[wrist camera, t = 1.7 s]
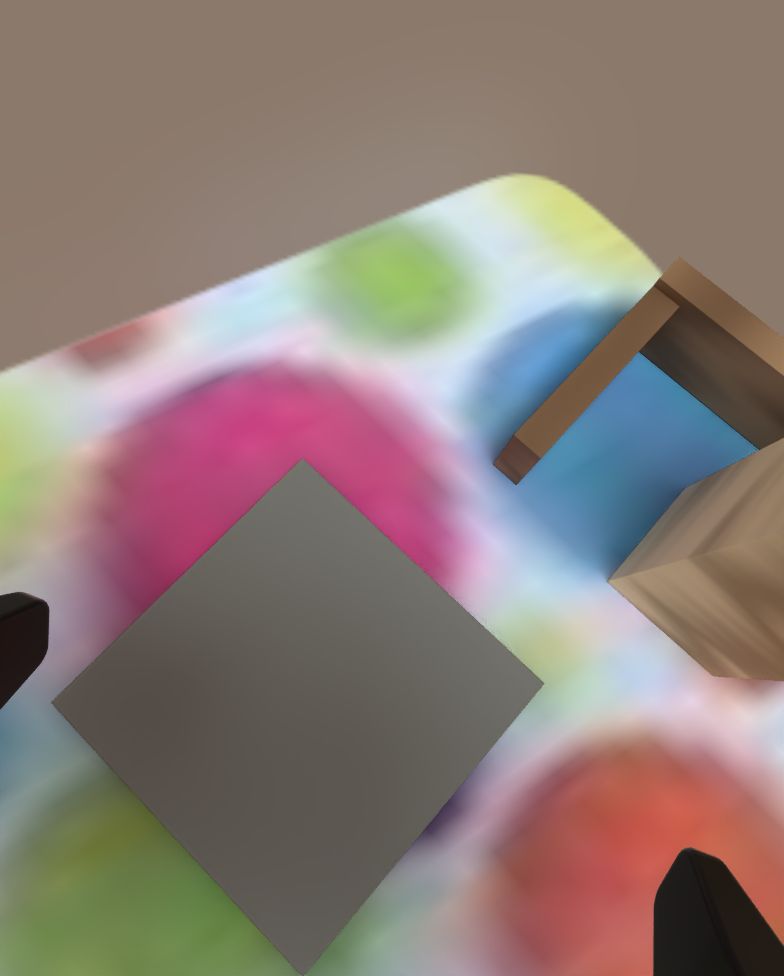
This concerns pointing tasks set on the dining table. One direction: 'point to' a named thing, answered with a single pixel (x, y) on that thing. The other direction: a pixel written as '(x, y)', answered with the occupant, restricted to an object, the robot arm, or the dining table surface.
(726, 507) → the maple block
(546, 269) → the dining table surface
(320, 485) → the mat
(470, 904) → the dining table surface
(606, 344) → the nook
